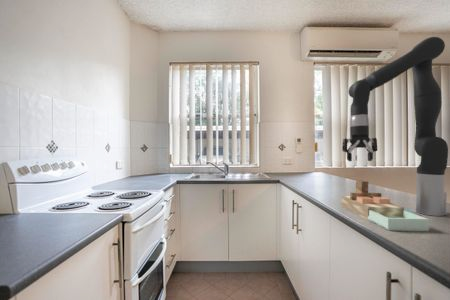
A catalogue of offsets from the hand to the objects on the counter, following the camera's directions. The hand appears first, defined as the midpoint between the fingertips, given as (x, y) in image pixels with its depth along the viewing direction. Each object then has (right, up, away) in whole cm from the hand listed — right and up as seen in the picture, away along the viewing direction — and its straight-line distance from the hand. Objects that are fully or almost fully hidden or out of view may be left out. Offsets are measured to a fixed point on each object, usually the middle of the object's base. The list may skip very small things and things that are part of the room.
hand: (359, 161), depth 111 cm
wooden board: (+2, -22, -5) cm, 23 cm away
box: (+1, -23, -22) cm, 31 cm away
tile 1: (-2, -17, -7) cm, 19 cm away
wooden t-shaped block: (+2, -17, +1) cm, 17 cm away
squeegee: (+16, -23, +5) cm, 29 cm away
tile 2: (+5, -17, -7) cm, 20 cm away
